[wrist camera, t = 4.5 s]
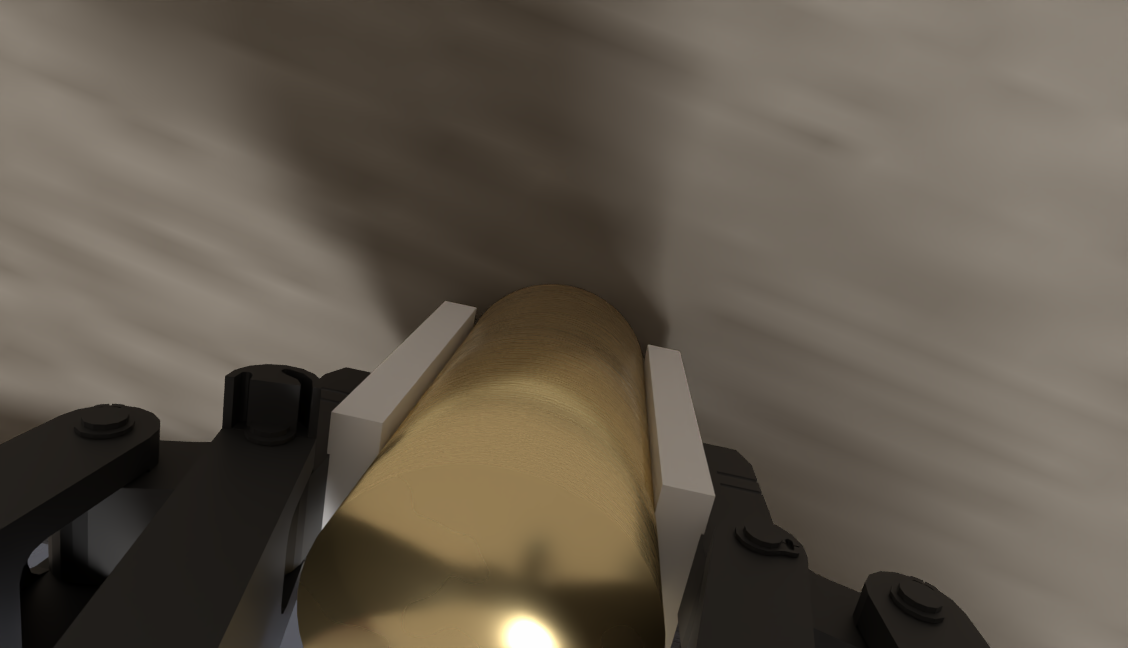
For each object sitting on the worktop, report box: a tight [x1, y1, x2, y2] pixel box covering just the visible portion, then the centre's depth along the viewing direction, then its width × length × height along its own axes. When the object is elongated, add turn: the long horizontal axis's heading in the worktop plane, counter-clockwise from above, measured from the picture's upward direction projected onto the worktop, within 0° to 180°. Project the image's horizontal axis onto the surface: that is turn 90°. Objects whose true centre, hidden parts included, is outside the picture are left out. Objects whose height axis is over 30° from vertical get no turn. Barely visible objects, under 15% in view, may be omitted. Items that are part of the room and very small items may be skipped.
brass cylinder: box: [297, 284, 666, 648], centre depth 12 cm, size 4×4×9 cm
